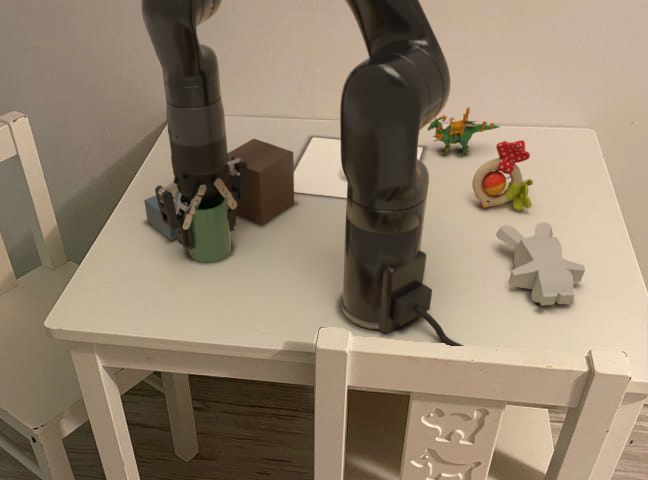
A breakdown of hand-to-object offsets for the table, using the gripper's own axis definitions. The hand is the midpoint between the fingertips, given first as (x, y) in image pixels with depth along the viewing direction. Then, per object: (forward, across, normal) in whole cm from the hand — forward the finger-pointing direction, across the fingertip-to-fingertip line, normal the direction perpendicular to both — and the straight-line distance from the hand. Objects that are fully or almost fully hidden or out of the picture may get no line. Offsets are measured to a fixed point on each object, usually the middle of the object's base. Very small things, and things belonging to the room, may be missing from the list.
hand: (208, 238), depth 108 cm
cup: (+2, 0, 0) cm, 2 cm away
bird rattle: (+2, +41, -20) cm, 46 cm away
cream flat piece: (+2, +33, +4) cm, 33 cm away
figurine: (+2, +50, -4) cm, 50 cm away
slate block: (+2, 0, +9) cm, 10 cm away
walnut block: (+2, +13, +5) cm, 14 cm away
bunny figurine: (+2, +30, -35) cm, 46 cm away
